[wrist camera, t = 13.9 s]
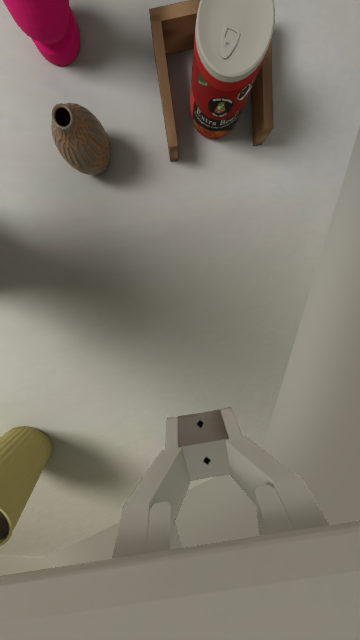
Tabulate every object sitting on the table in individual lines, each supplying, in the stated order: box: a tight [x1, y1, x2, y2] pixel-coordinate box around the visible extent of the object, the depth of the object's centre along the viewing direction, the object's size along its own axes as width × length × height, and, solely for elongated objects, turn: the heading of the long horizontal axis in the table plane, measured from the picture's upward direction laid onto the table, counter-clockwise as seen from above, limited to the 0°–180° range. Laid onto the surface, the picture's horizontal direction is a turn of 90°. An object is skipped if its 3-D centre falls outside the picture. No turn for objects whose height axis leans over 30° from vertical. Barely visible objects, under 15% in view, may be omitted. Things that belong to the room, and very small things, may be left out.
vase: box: [51, 103, 110, 175], centre depth 27 cm, size 7×7×9 cm
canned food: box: [190, 0, 275, 138], centre depth 24 cm, size 8×8×11 cm
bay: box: [149, 0, 273, 161], centre depth 27 cm, size 14×14×4 cm
